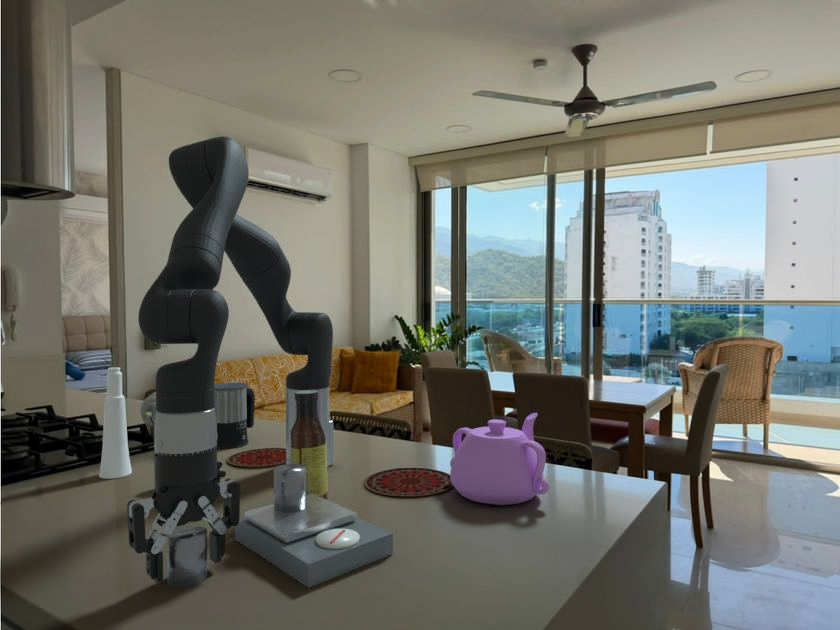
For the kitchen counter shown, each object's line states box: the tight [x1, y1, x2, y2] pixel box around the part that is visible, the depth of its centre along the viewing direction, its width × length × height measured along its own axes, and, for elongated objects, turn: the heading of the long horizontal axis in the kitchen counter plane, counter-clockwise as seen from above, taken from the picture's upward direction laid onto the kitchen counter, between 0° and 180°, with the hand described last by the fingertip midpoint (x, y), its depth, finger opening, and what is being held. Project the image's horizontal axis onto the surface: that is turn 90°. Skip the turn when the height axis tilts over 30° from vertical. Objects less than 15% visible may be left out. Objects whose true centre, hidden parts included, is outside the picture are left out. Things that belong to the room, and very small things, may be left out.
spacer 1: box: [166, 525, 208, 589], centre depth 76 cm, size 5×5×6 cm
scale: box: [234, 517, 394, 589], centre depth 85 cm, size 14×20×4 cm
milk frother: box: [214, 382, 256, 450], centre depth 147 cm, size 14×16×15 cm
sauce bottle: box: [291, 390, 329, 500], centre depth 103 cm, size 7×6×20 cm
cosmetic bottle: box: [98, 366, 133, 480], centre depth 119 cm, size 6×6×22 cm
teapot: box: [449, 412, 550, 506], centre depth 110 cm, size 22×22×14 cm
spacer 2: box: [273, 464, 306, 513], centre depth 89 cm, size 5×5×6 cm
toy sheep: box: [140, 391, 156, 435], centre depth 157 cm, size 11×17×11 cm, turn 1°
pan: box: [243, 494, 358, 543], centre depth 87 cm, size 12×12×1 cm
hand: (187, 569), depth 76 cm, fingers open, 7 cm apart
